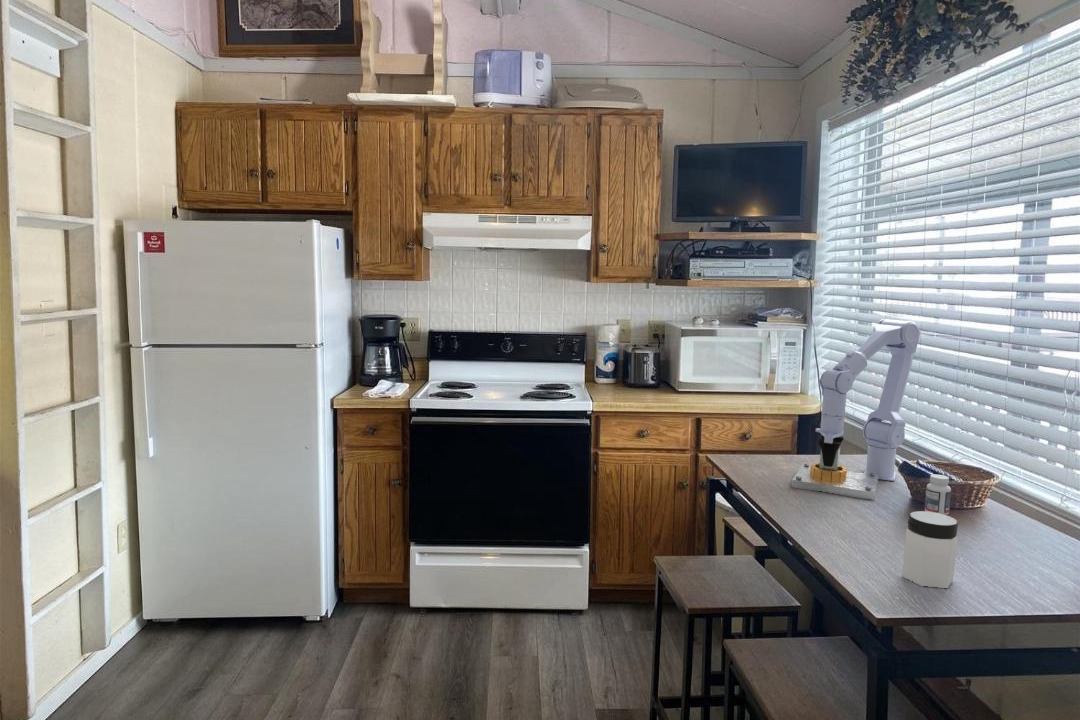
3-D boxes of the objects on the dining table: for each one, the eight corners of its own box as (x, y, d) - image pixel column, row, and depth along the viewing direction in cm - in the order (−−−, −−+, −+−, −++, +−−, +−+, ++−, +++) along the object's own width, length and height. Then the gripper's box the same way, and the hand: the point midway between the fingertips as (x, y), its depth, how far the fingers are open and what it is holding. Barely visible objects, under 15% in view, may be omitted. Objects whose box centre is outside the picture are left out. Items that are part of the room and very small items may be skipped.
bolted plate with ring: (801, 471, 214) (802, 455, 213) (877, 482, 205) (879, 466, 204) (791, 487, 198) (792, 470, 197) (873, 500, 189) (875, 482, 188)
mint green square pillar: (820, 469, 205) (823, 440, 204) (838, 472, 203) (840, 442, 202) (818, 473, 201) (821, 443, 200) (836, 476, 199) (838, 446, 198)
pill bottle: (943, 509, 183) (946, 474, 182) (952, 516, 178) (956, 480, 177) (920, 508, 183) (924, 472, 182) (929, 515, 178) (933, 479, 177)
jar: (909, 566, 147) (915, 507, 145) (956, 578, 142) (962, 517, 140) (897, 580, 140) (902, 518, 139) (945, 593, 135) (952, 529, 133)
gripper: (820, 408, 208) (816, 456, 210) (813, 417, 195) (809, 468, 197) (848, 411, 205) (843, 459, 206) (842, 420, 192) (838, 472, 194)
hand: (829, 464), depth 201 cm, fingers closed on mint green square pillar, 4 cm apart
